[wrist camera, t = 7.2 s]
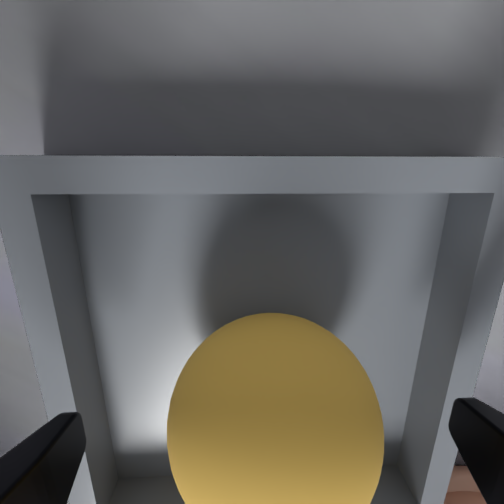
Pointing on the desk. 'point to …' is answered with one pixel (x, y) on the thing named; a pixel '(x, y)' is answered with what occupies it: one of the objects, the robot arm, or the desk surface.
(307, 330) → the ball
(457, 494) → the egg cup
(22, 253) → the tray
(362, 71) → the desk surface
